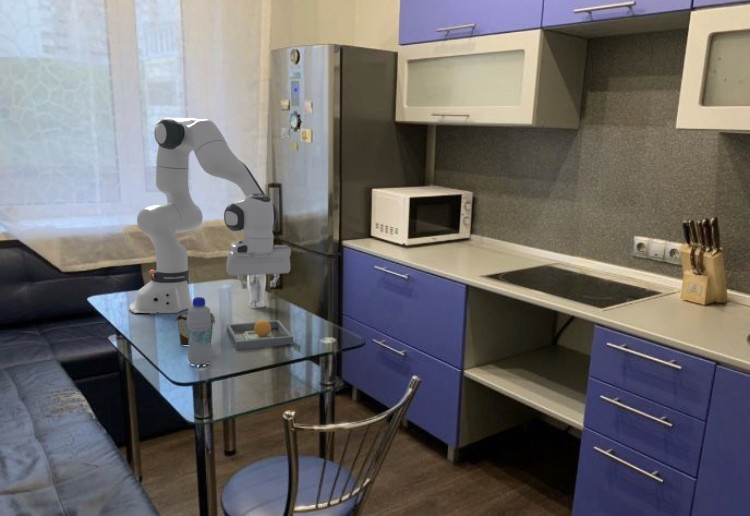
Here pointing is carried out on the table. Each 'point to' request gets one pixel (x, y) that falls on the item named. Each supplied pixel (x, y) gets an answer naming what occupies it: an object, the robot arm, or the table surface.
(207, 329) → the bottle
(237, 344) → the low wall pen
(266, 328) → the ball
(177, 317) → the food container
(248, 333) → the resting pad
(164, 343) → the table surface
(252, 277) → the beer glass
